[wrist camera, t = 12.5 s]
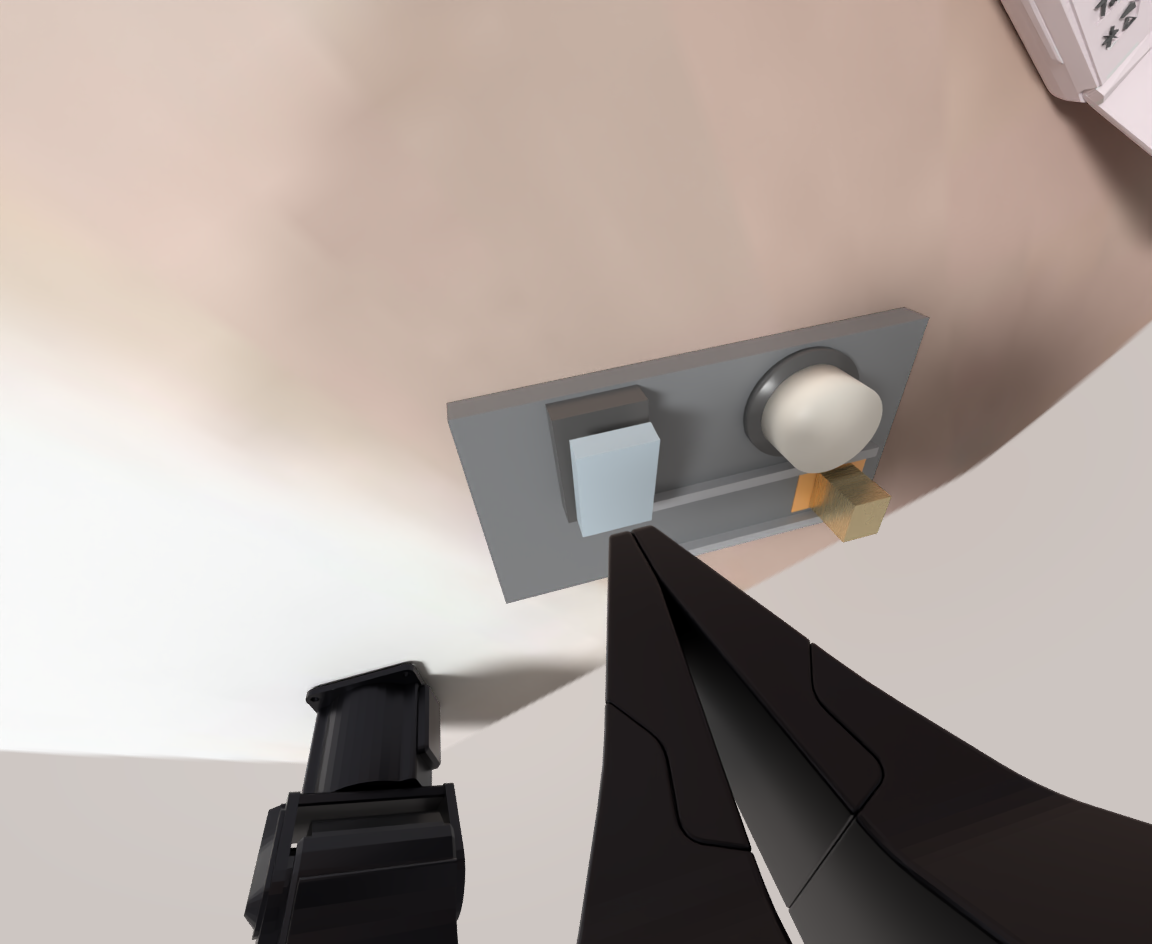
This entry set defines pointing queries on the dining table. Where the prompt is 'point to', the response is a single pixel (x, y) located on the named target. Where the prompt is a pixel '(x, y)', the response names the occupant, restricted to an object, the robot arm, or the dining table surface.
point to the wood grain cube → (849, 502)
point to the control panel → (665, 446)
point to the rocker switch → (615, 477)
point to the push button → (821, 418)
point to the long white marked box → (1093, 56)
